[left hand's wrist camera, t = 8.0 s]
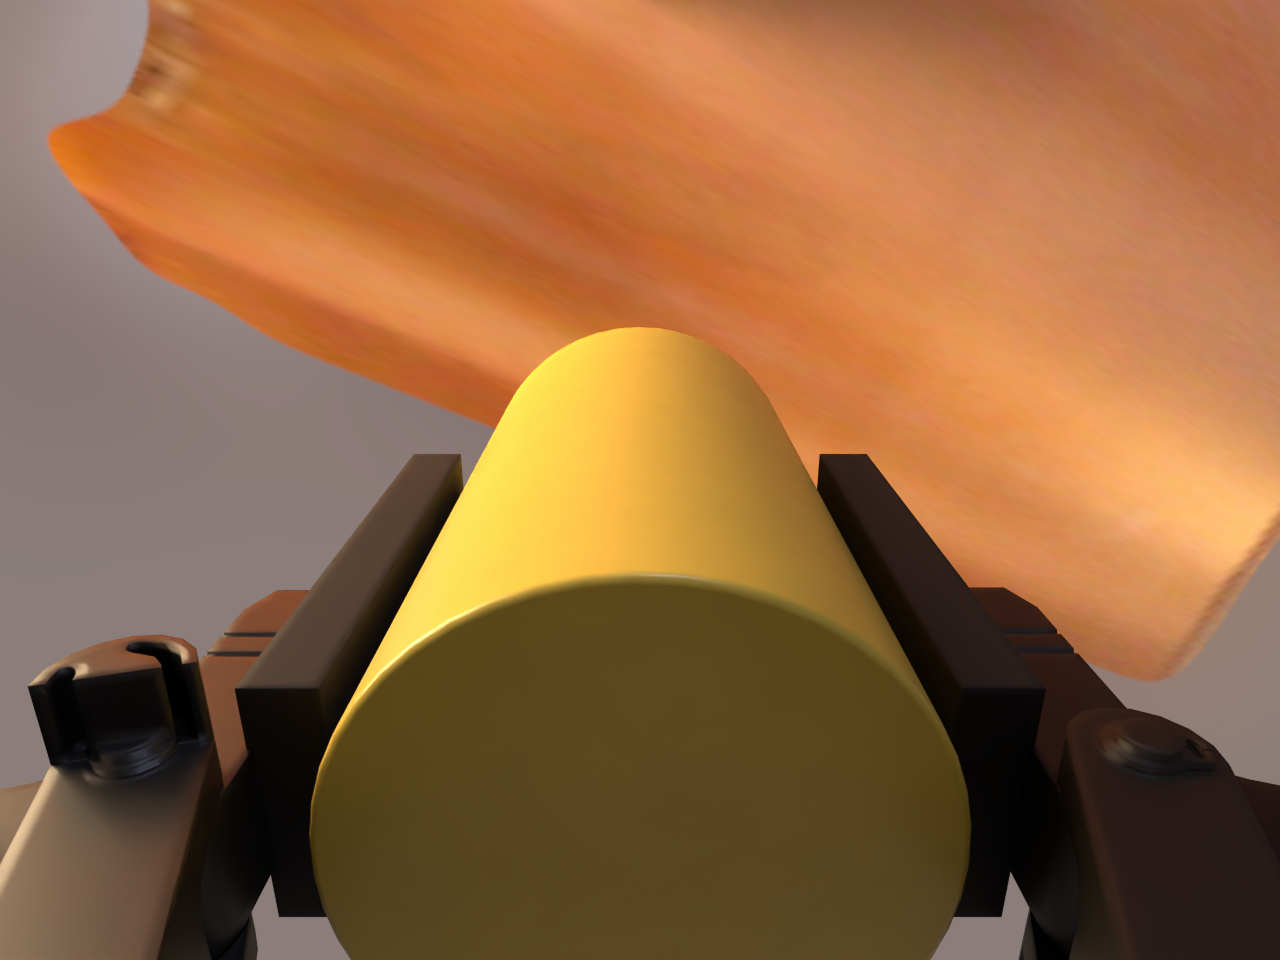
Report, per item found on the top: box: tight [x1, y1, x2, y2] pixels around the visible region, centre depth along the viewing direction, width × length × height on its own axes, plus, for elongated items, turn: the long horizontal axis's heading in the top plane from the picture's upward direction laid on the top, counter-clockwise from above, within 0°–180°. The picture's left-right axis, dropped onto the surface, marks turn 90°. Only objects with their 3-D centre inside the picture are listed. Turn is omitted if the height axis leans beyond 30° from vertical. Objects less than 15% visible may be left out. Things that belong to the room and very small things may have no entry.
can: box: [310, 327, 971, 960], centre depth 12 cm, size 6×6×10 cm
